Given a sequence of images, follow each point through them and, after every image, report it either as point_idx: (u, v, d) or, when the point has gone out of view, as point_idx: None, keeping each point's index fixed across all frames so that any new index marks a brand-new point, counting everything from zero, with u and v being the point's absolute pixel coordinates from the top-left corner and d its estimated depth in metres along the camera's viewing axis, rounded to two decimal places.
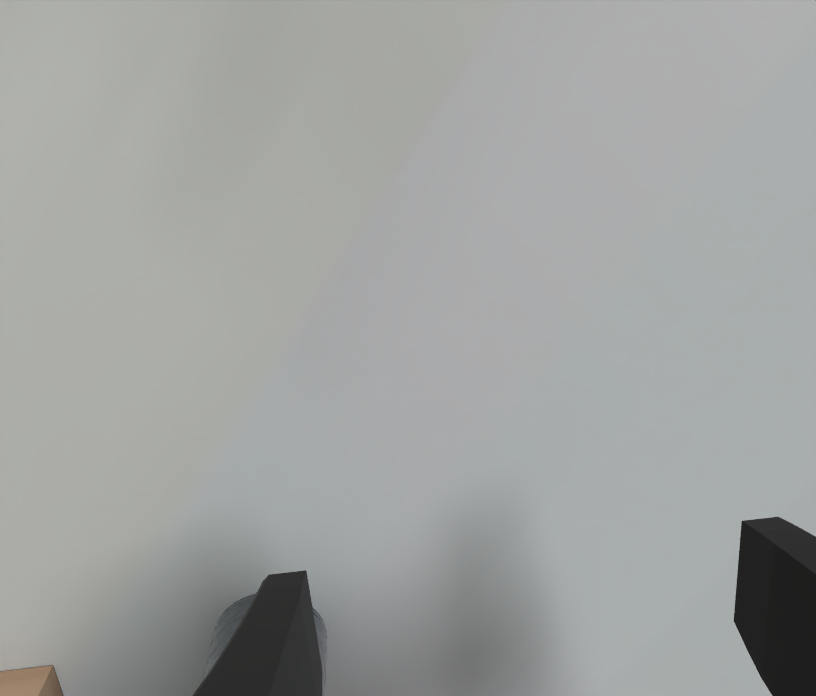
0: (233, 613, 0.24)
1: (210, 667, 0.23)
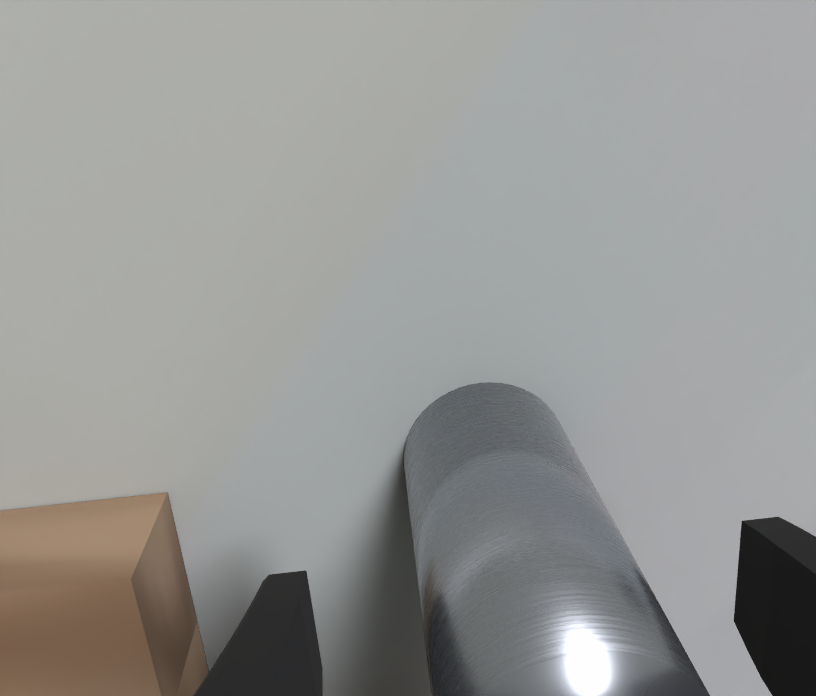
0: (443, 407, 0.16)
1: (429, 468, 0.15)
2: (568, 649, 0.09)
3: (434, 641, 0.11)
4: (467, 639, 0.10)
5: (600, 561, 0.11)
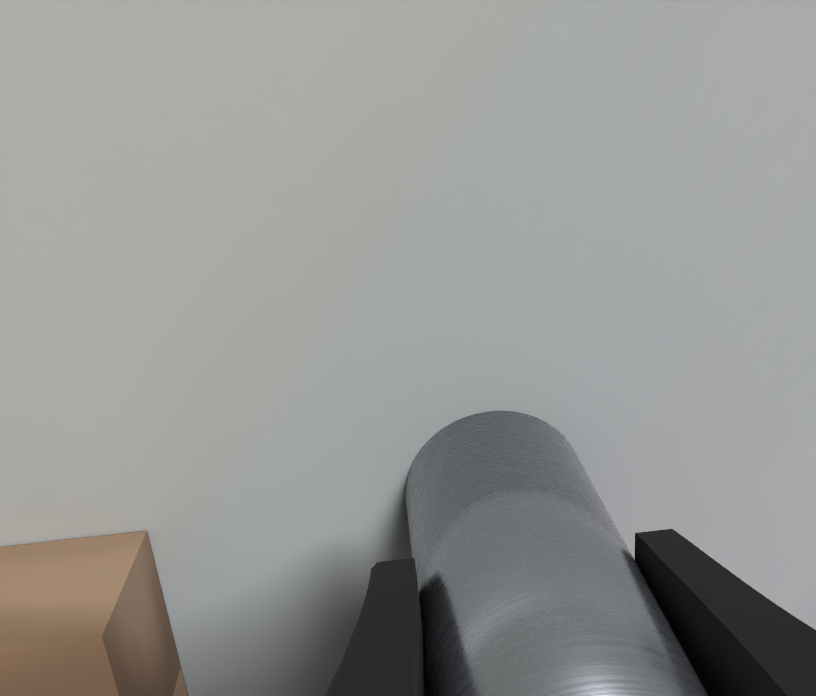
0: (449, 439, 0.15)
1: (434, 511, 0.13)
2: None
3: None
4: None
5: (634, 634, 0.10)
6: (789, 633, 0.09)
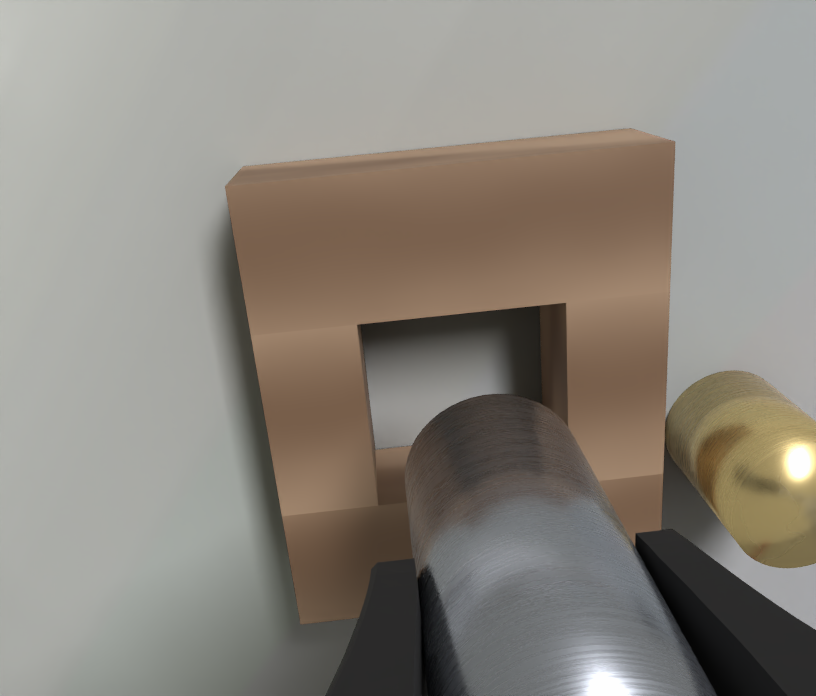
0: (454, 417, 0.15)
1: (437, 485, 0.13)
2: None
3: (441, 689, 0.10)
4: (485, 693, 0.09)
5: (638, 609, 0.10)
6: (789, 633, 0.09)
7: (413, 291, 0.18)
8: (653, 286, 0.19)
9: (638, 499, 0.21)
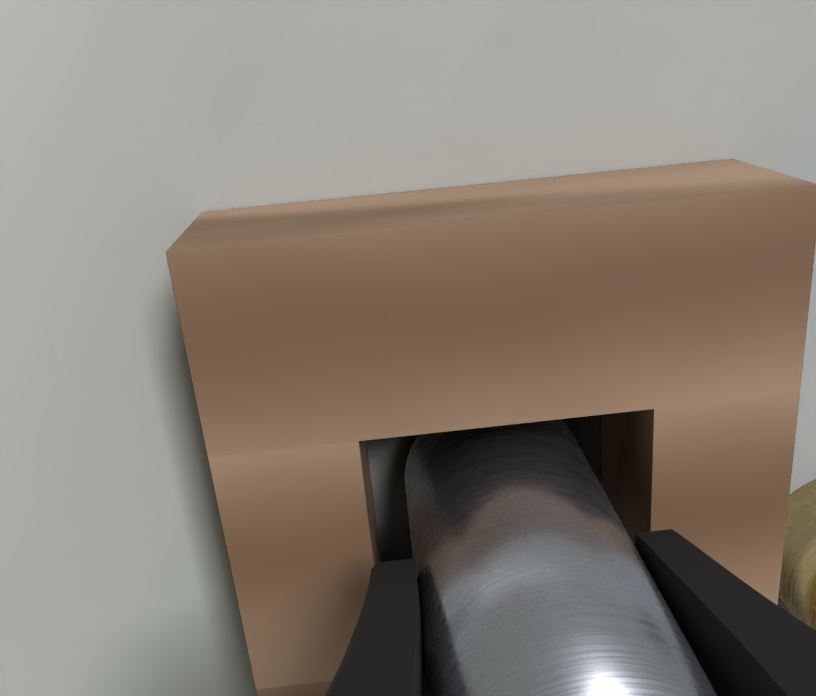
0: None
1: (437, 485, 0.13)
2: None
3: (441, 689, 0.10)
4: (485, 693, 0.09)
5: (638, 609, 0.10)
6: (789, 633, 0.09)
7: (439, 396, 0.13)
8: (777, 386, 0.13)
9: None
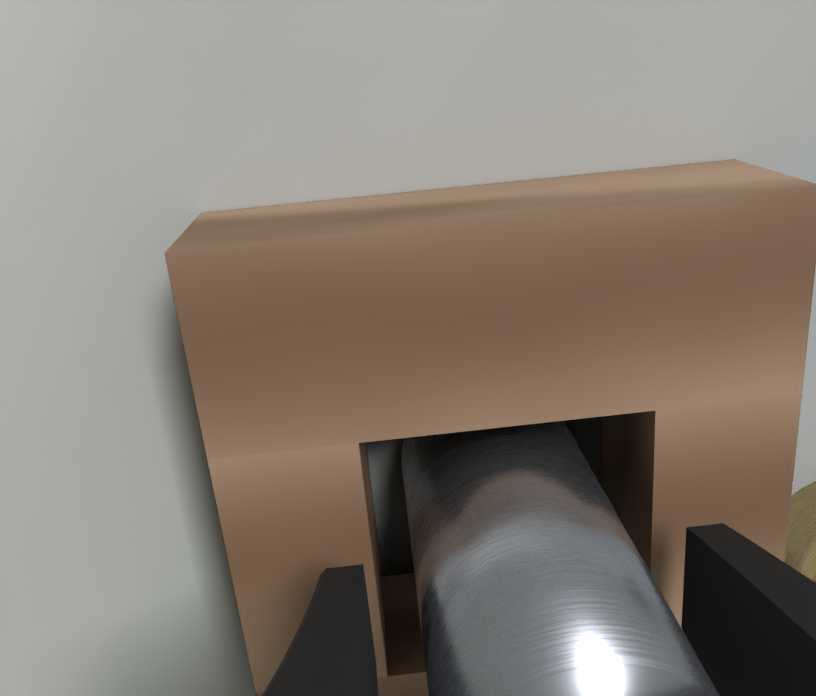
0: None
1: (432, 461, 0.14)
2: (589, 660, 0.09)
3: (436, 643, 0.11)
4: (477, 643, 0.10)
5: (619, 568, 0.10)
6: None
7: (439, 397, 0.13)
8: (779, 387, 0.13)
9: None
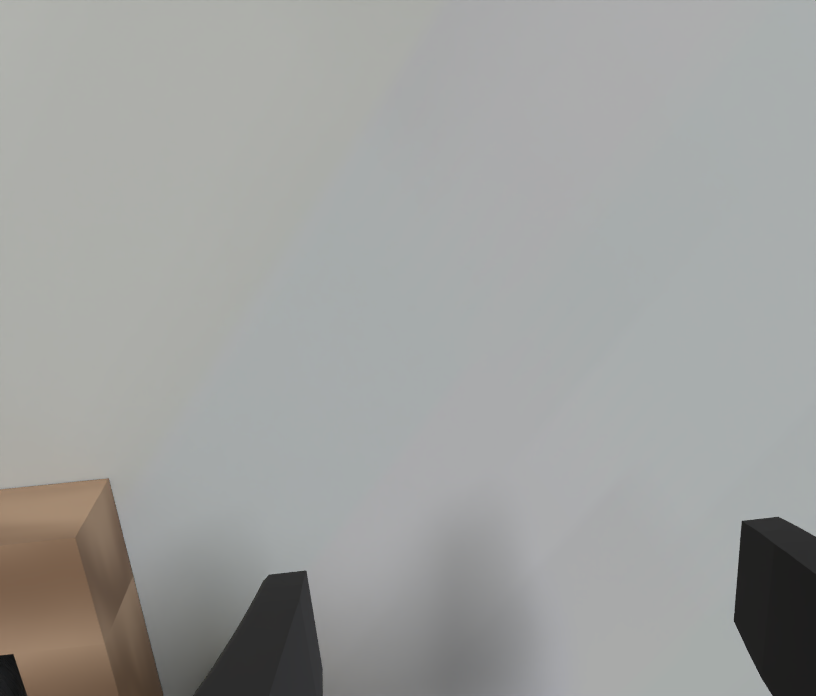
0: None
1: None
2: None
3: None
4: None
5: None
6: None
7: None
8: (88, 640, 0.22)
9: None
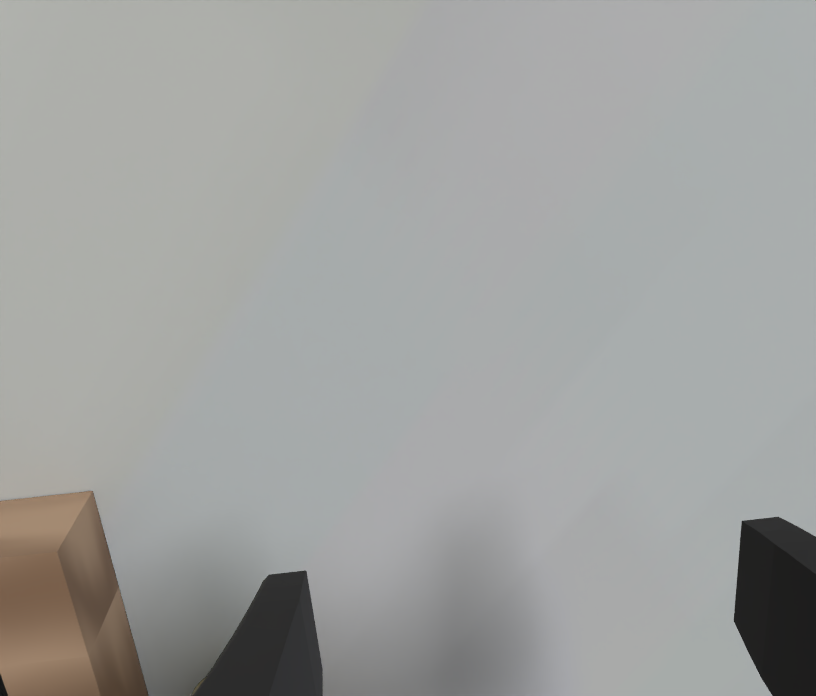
0: None
1: None
2: None
3: None
4: None
5: None
6: None
7: None
8: (72, 653, 0.22)
9: None
